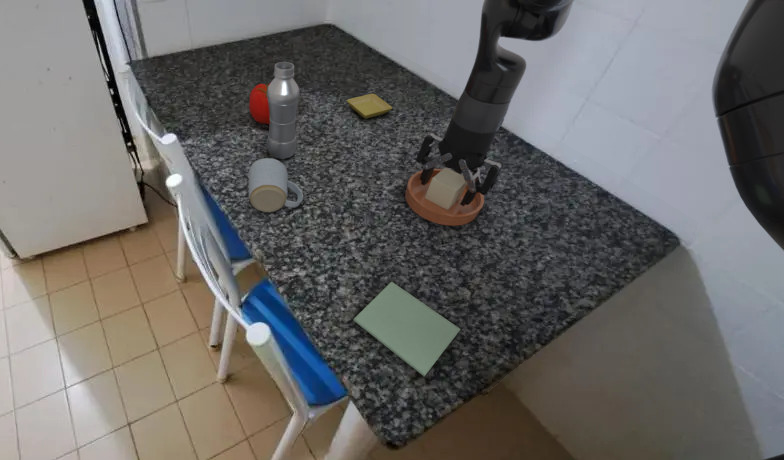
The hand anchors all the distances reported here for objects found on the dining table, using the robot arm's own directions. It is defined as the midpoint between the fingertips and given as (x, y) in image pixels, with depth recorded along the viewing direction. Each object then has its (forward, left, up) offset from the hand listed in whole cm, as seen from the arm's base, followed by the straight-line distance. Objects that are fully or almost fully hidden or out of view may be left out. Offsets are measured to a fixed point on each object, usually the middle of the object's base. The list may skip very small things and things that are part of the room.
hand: (443, 193), depth 76 cm
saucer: (+31, -18, -2) cm, 36 cm away
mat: (-11, +30, -2) cm, 31 cm away
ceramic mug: (+23, +24, -2) cm, 33 cm away
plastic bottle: (+33, +12, -2) cm, 35 cm away
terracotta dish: (0, 0, -2) cm, 2 cm away
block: (0, 0, -1) cm, 1 cm away
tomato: (+45, +4, -2) cm, 45 cm away
